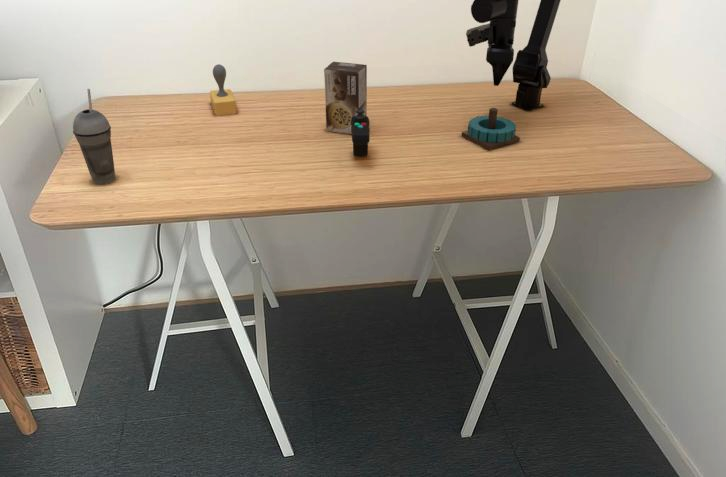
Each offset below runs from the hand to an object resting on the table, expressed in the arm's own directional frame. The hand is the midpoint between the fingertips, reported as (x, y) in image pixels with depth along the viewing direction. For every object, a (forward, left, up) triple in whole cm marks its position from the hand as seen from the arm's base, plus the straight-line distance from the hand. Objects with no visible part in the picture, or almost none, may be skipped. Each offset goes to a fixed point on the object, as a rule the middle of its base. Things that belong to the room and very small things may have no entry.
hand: (496, 79), depth 155 cm
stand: (+7, +7, -12) cm, 16 cm away
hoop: (+7, +7, -11) cm, 14 cm away
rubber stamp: (+55, -47, -12) cm, 73 cm away
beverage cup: (+93, -20, -12) cm, 96 cm away
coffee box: (+34, -17, -12) cm, 40 cm away
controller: (+40, -1, -12) cm, 42 cm away
